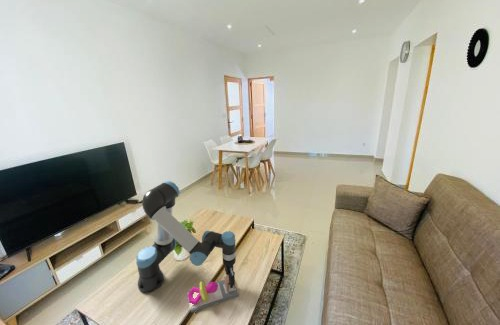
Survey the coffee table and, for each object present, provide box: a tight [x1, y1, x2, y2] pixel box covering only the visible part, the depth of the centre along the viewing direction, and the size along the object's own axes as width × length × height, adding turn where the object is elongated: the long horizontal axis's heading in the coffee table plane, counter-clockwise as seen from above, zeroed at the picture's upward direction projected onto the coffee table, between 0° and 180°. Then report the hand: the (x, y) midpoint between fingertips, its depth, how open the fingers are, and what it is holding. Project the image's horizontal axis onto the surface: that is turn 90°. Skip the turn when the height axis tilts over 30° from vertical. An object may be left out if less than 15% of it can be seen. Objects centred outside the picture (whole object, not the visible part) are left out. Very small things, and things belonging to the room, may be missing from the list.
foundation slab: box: [187, 279, 240, 313], centre depth 128 cm, size 28×13×2 cm, turn 112°
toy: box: [187, 280, 218, 304], centre depth 123 cm, size 10×18×10 cm
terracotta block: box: [223, 275, 236, 292], centre depth 130 cm, size 5×5×7 cm
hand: (229, 286), depth 131 cm, fingers closed on terracotta block, 5 cm apart
